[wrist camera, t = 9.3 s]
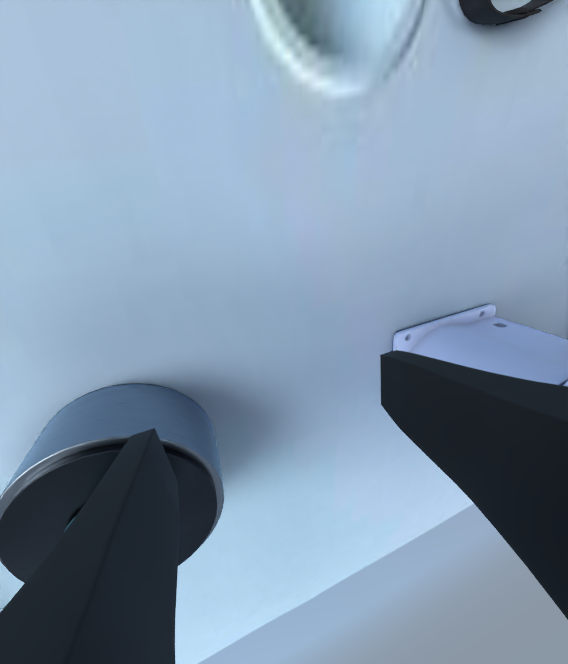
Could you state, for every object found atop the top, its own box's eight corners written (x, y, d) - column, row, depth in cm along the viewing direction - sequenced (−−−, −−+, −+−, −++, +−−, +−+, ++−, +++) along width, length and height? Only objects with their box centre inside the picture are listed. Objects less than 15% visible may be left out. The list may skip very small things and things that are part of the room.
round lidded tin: (192, 362, 17) (196, 411, 13) (229, 478, 21) (242, 545, 17) (-2, 417, 15) (-78, 499, 11) (81, 535, 19) (51, 630, 15)
